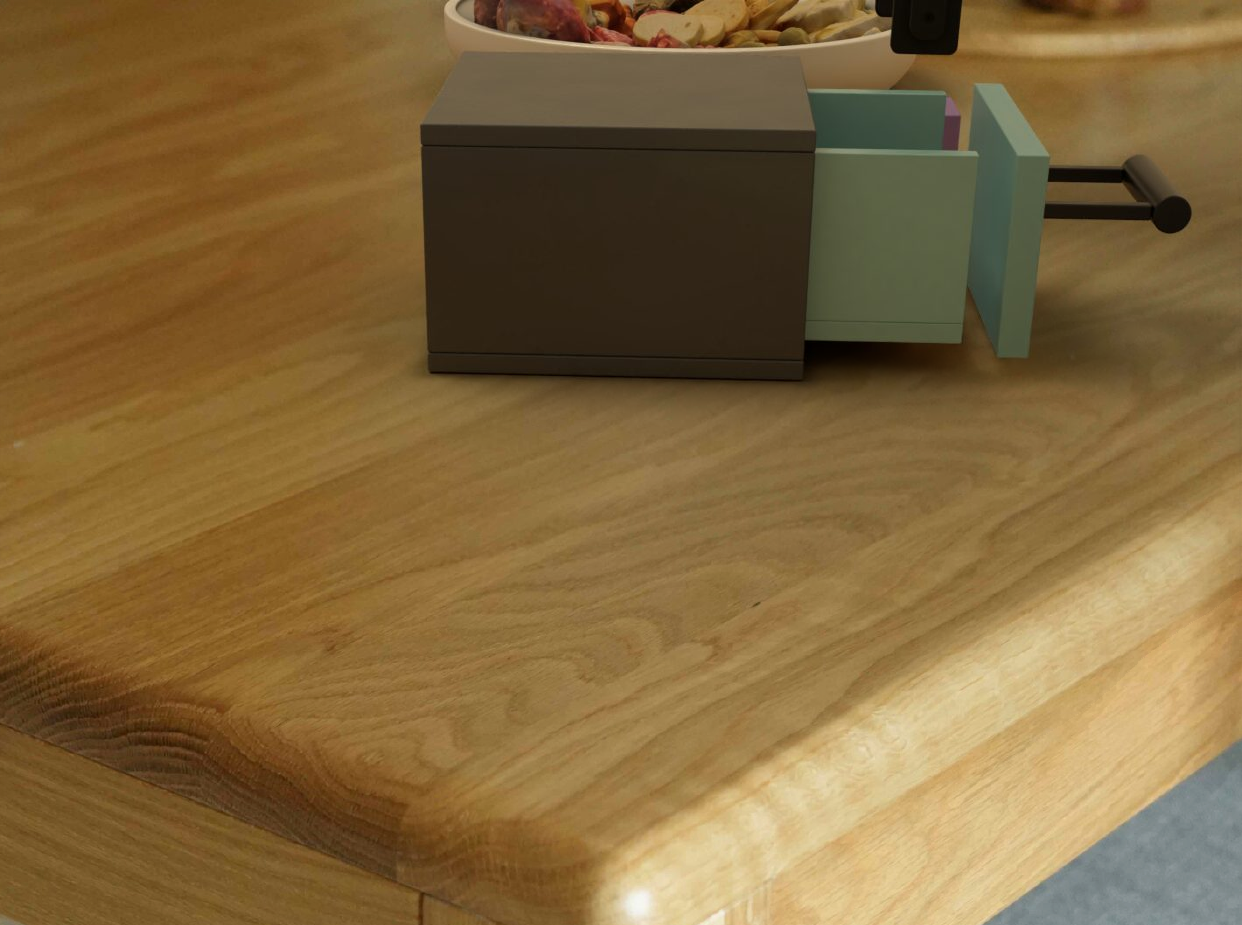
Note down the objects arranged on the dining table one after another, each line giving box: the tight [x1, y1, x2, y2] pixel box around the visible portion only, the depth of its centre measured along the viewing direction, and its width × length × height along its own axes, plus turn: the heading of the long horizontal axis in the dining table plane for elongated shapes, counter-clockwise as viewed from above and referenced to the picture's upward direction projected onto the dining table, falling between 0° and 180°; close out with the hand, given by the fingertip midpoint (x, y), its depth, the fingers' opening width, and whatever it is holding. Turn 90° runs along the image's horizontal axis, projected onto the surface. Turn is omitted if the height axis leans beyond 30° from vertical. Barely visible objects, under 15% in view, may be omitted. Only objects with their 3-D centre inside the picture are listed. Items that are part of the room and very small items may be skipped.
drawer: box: [805, 82, 1193, 359], centre depth 81 cm, size 20×13×8 cm
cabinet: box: [419, 51, 817, 381], centre depth 82 cm, size 15×15×10 cm
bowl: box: [443, 0, 917, 90], centre depth 126 cm, size 30×30×8 cm
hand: (913, 34), depth 101 cm, fingers open, 9 cm apart
